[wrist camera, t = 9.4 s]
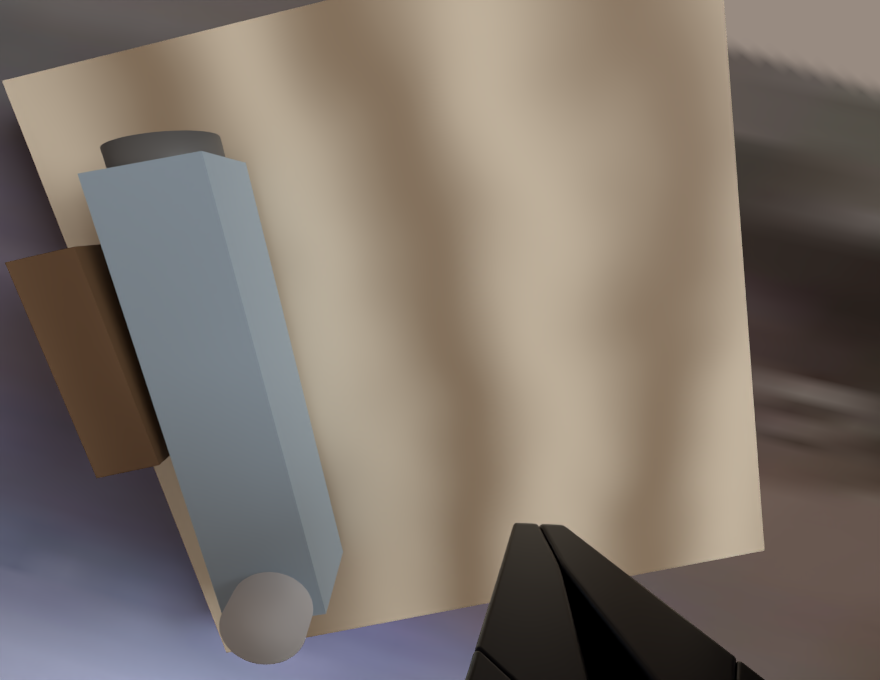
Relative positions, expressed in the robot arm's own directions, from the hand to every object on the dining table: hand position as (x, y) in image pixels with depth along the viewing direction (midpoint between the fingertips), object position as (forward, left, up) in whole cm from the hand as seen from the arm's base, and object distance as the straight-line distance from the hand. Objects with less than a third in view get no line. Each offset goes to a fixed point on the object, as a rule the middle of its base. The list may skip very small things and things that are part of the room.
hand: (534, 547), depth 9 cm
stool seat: (-1, +2, -11) cm, 11 cm away
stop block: (-10, +4, -8) cm, 14 cm away
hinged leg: (-7, +2, -8) cm, 11 cm away
